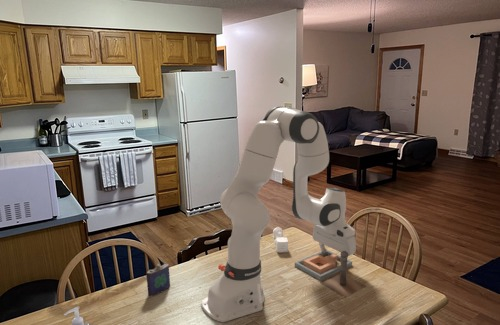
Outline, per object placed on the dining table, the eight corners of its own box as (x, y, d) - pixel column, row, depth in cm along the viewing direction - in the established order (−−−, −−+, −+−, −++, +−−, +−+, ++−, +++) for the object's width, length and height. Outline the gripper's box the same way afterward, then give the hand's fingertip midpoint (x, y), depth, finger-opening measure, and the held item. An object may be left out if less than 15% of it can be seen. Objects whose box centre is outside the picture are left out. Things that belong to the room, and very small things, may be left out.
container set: (288, 253, 164) (288, 241, 163) (276, 253, 164) (276, 242, 162) (282, 234, 183) (282, 224, 182) (272, 235, 183) (272, 224, 182)
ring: (320, 276, 142) (320, 269, 141) (303, 267, 149) (303, 260, 148) (343, 265, 150) (343, 258, 150) (326, 257, 157) (326, 250, 157)
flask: (167, 284, 139) (166, 258, 137) (172, 287, 137) (170, 261, 135) (146, 294, 132) (144, 267, 130) (151, 297, 130) (149, 270, 128)
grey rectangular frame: (320, 283, 139) (320, 276, 138) (294, 268, 150) (294, 262, 149) (351, 267, 150) (352, 261, 149) (325, 255, 161) (325, 249, 160)
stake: (345, 300, 128) (347, 262, 125) (319, 285, 137) (320, 249, 134) (366, 288, 135) (368, 252, 132) (340, 275, 144) (342, 241, 141)
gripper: (309, 220, 156) (308, 250, 159) (348, 235, 140) (347, 268, 143) (319, 216, 159) (318, 246, 162) (359, 231, 143) (357, 264, 146)
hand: (332, 256), depth 152 cm, fingers open, 8 cm apart
